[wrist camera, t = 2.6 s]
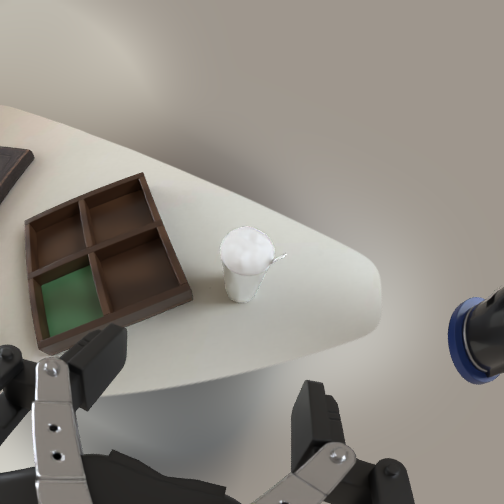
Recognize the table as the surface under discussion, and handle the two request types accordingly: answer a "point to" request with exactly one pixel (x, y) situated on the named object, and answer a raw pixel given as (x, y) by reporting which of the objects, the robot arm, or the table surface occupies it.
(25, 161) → the hardcover book
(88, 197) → the grid
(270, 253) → the milkshake
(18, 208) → the table surface
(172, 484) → the robot arm
